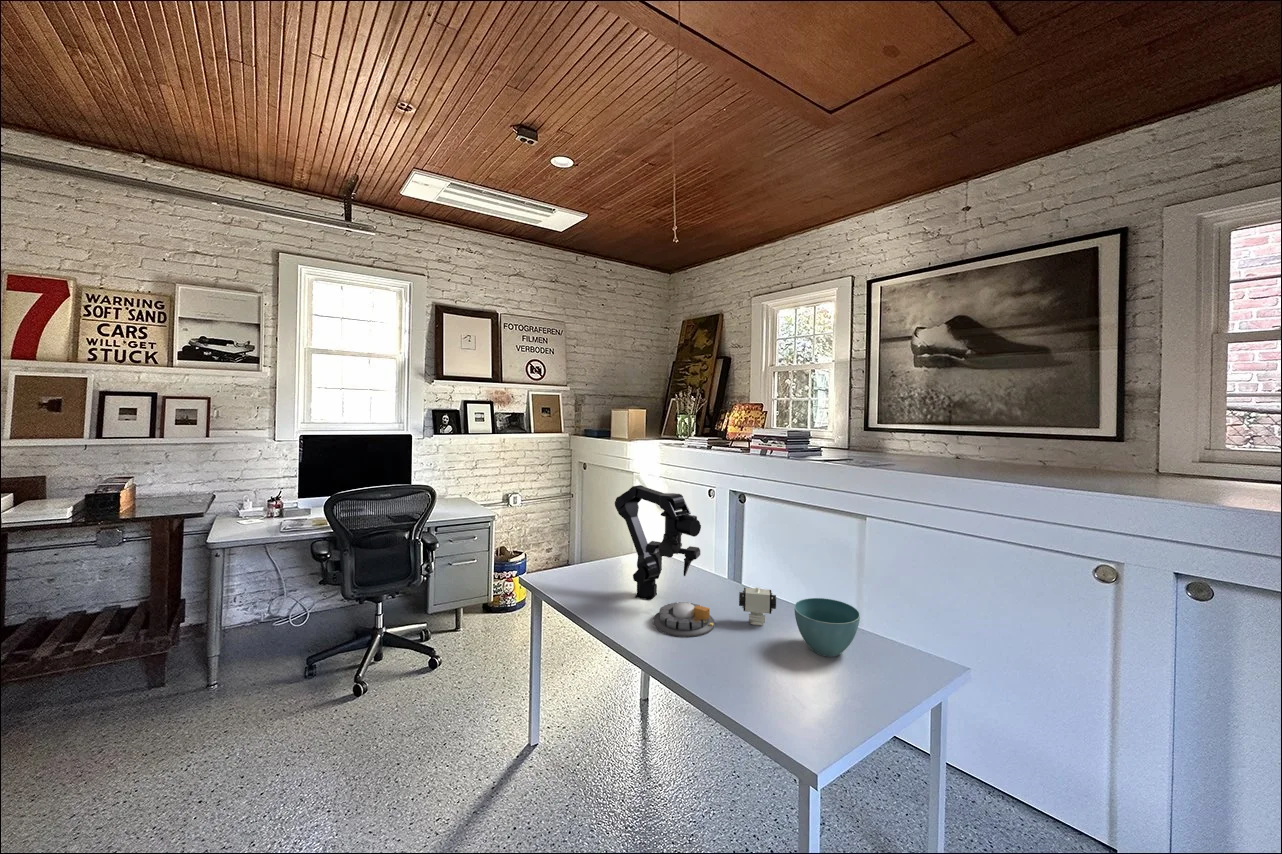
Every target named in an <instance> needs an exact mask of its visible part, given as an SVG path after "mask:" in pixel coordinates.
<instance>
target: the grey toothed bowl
mask: <svg viewBox="0 0 1282 854" xmlns="http://www.w3.org/2000/svg"><path fill="white" fill-rule="evenodd" d="M676 603H677V602H671V603H667V604H665V605H663V606H661V607H660V608H659V612H658V613H659V621H660V622H661V623H662V624H663V625H664V626H667V627H669V628H672V629H675V630H676V629H678V630H689V631H690V629H691V630H696V629H700V628H701V627H704V626H706V625H707V624H708V623H709V616H711V615H710V613H711V612H710V610H711V609H710V608H709V607H706V606H703V605H700V604H696V603H692V602H691V603H690V602H689V603H690V604H692V605H694V617H695V618H690V619H680V618H676V617H673V616H671V615H672V614H673V606H674V604H676ZM678 603H686V602H678Z"/></svg>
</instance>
